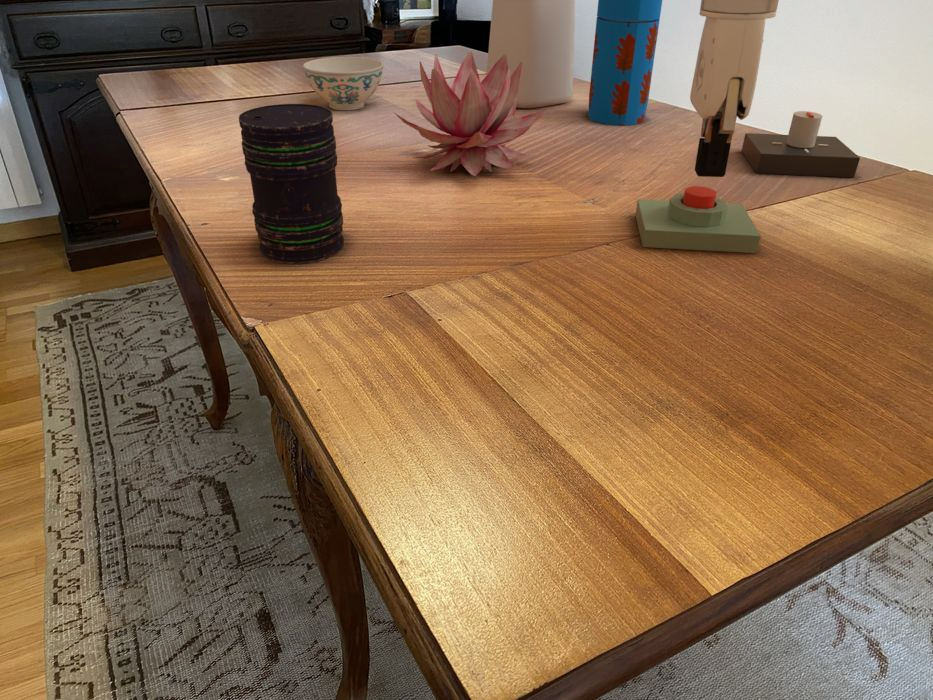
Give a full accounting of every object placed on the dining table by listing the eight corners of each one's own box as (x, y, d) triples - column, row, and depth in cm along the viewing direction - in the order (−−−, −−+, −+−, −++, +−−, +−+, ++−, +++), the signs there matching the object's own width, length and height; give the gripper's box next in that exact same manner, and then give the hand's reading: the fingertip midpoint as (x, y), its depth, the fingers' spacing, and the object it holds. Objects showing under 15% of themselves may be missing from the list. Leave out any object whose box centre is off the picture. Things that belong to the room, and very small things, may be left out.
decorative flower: (568, 174, 104) (578, 66, 96) (442, 200, 95) (441, 83, 87) (491, 138, 120) (493, 43, 112) (376, 157, 111) (370, 54, 102)
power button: (710, 200, 86) (713, 186, 85) (716, 211, 83) (719, 197, 82) (680, 199, 86) (683, 185, 85) (684, 210, 83) (687, 195, 82)
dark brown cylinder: (336, 224, 88) (324, 100, 79) (353, 256, 80) (342, 122, 72) (254, 235, 85) (232, 107, 77) (263, 269, 77) (241, 131, 69)
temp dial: (783, 140, 110) (791, 108, 107) (810, 141, 109) (818, 109, 107) (789, 147, 106) (798, 115, 104) (817, 148, 106) (826, 116, 103)
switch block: (738, 220, 90) (745, 190, 88) (756, 253, 81) (764, 221, 79) (635, 215, 91) (639, 185, 89) (642, 247, 83) (647, 215, 81)
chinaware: (328, 94, 146) (324, 54, 141) (396, 100, 142) (394, 59, 138) (293, 112, 133) (288, 69, 129) (367, 118, 130) (364, 74, 126)
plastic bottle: (520, 112, 135) (529, -57, 120) (476, 96, 145) (479, -61, 130) (581, 102, 142) (596, -59, 127) (534, 87, 152) (543, -62, 137)
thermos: (656, 117, 132) (679, -34, 119) (625, 128, 126) (645, -30, 112) (608, 107, 138) (624, -38, 125) (575, 117, 132) (589, -35, 118)
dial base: (830, 155, 113) (836, 135, 112) (854, 177, 104) (860, 156, 102) (741, 151, 115) (745, 132, 113) (756, 173, 106) (761, 152, 104)
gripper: (691, -8, 79) (668, 154, 89) (714, 8, 66) (685, 196, 76) (760, -9, 78) (729, 156, 88) (797, 8, 66) (757, 197, 75)
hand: (709, 174), depth 82 cm, fingers closed
